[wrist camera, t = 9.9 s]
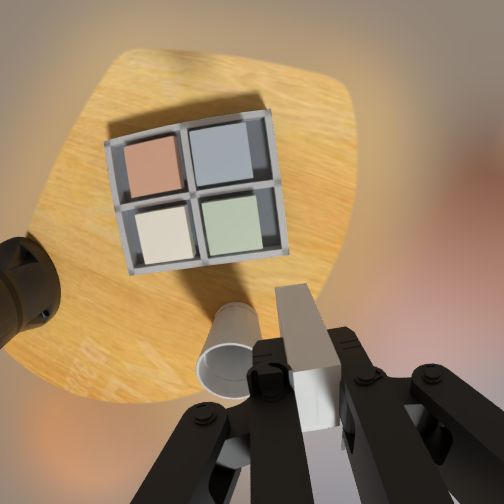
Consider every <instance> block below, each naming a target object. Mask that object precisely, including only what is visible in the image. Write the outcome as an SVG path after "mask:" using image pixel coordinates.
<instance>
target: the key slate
mask: <svg viewBox="0 0 504 504" xmlns="http://www.w3.org/2000/svg"><path fill="white" fill-rule="evenodd" d="M189 134H190V141H191V148H192V155H193V162H194V169H195V175H196V182H197V186H203V185H209V184H215V183H222V182H228V181H235V180H242V179H249V178H253V171H252V164H251V157H250V150H249V143H248V136H247V129H246V122H245V123H238V124H231V125H224V126H218V127H212V128H206V129H200V130H195V131H190V132H189Z"/></svg>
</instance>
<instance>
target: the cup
mask: <svg viewBox="0 0 504 504" xmlns="http://www.w3.org/2000/svg"><path fill="white" fill-rule="evenodd" d="M257 340H262V335H261V330H260V326H259V318H258V315H257V313H256V311H255V310H254V309H253V308H252V307H251V306H249V305H247V304H245V303H242V302H230V303H227V304H225V305H223V306H222V307H220V308H219V309H218V311H217V312H216V314H215V317H214V322H213V324H212V327H211V329H210V332H209V334H208V337H207V340H206V342H205V345H204V347H203V349H202V351H201V354H200V356H199V359H198V361H197V364H196V375H197V378H198V380H199V382H200V383H201V385H202V386H203V387H204V388H205V389H206V390H207V391H209V392H210V393H212V394H214V395H216V396H218V397H221V398H225V399H243V398H247V397H250V394H249V389H248V383H247V378H246V375H247V372H248V370H249V369H250V368H251V367H252V365H253V364H252V348H253V346H254V345H255V343H256V342H257Z"/></svg>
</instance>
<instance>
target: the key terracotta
mask: <svg viewBox="0 0 504 504" xmlns="http://www.w3.org/2000/svg"><path fill="white" fill-rule="evenodd" d="M124 154H125V161H126V167H127V174H128V180H129V186H130V192H131V197H132V198H134V197H139V196H145V195H150V194H155V193H160V192H166V191H171V190H177V189H182V188H184V187H185V186H184V180H183V173H182V167H181V160H180V154H179V147H178V140H177V137H175V136H170V137H165V138H161V139H156V140H152V141H147V142H143V143H139V144H134V145H130V146H126V147H124Z"/></svg>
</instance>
